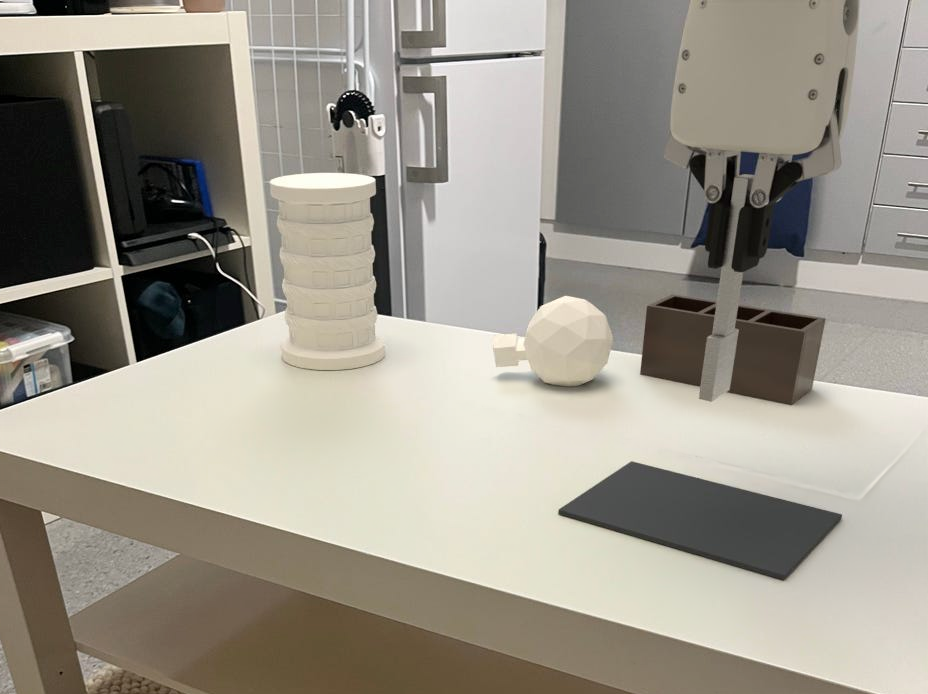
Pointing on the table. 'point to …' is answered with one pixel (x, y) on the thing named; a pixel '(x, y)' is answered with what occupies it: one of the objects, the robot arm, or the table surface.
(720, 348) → the stepped grey rod
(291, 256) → the decorative container
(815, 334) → the box
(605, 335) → the perfume bottle
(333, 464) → the table surface
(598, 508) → the mat
